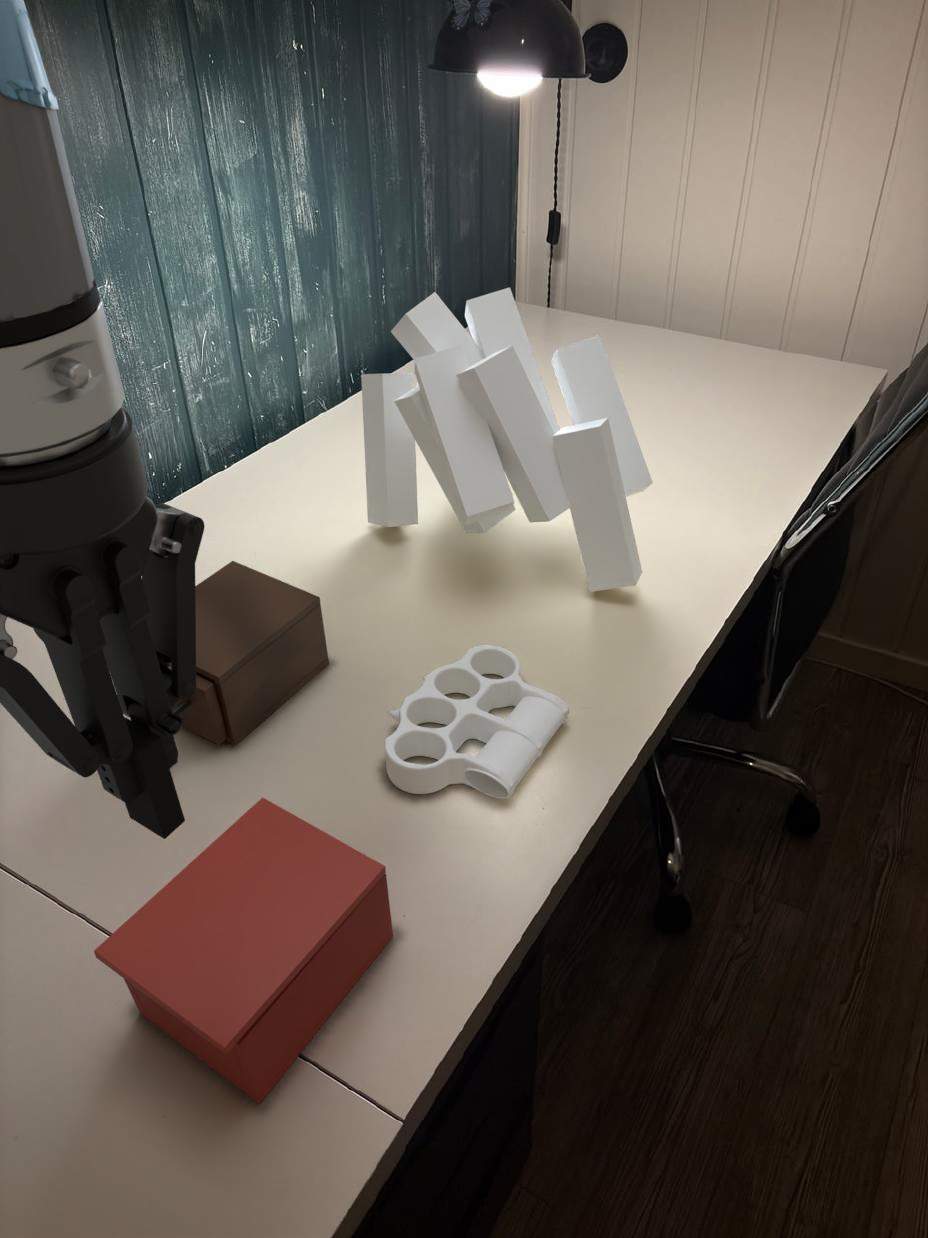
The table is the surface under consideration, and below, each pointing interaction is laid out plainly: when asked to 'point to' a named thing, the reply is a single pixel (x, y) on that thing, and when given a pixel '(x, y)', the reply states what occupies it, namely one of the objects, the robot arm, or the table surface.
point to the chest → (291, 1002)
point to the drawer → (202, 711)
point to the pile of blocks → (505, 433)
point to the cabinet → (256, 643)
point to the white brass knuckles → (472, 726)
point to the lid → (240, 921)
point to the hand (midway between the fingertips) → (157, 819)
